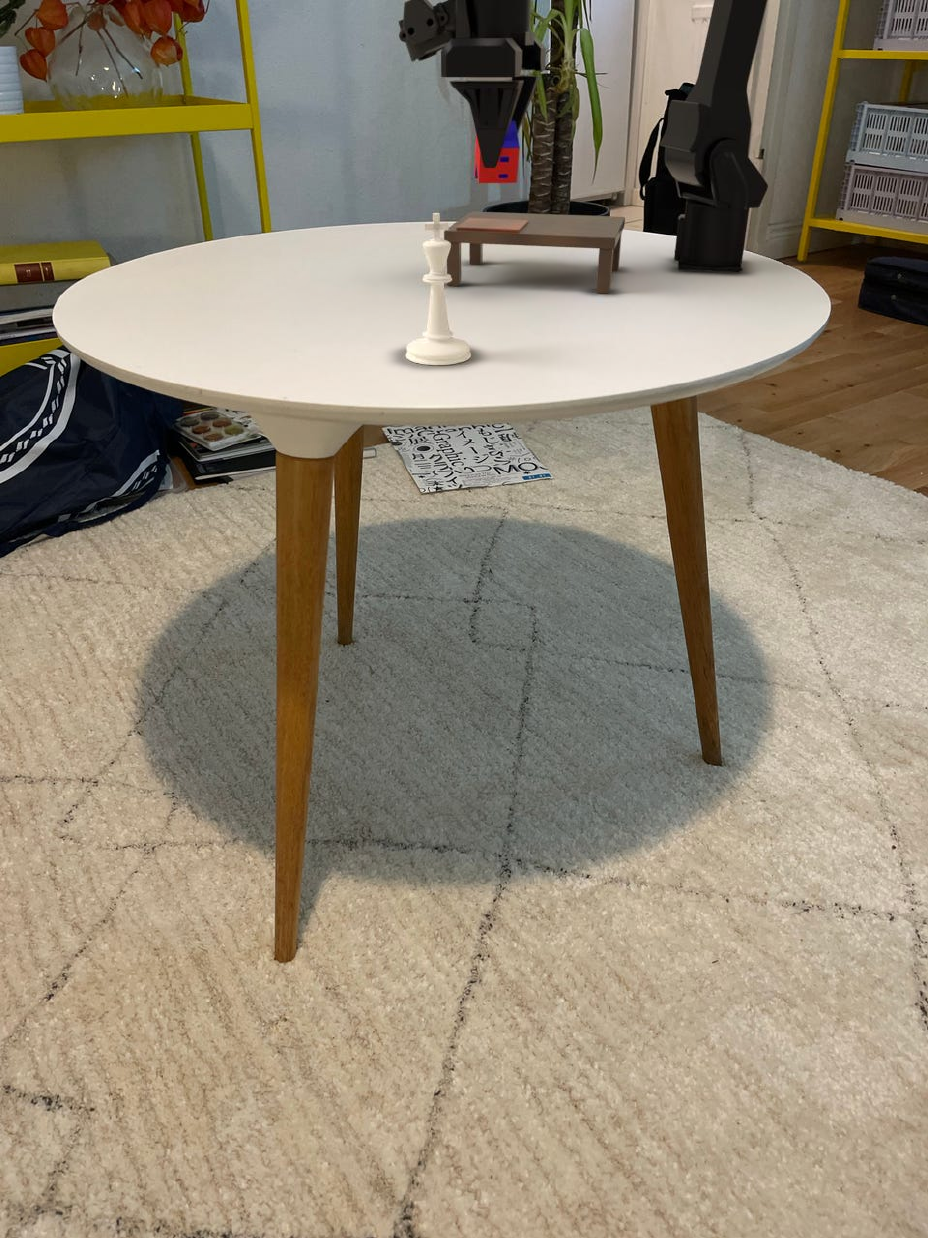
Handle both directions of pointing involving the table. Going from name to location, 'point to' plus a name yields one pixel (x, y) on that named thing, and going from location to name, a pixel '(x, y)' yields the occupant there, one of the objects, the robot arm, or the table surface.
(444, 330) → the chess piece
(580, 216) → the miniature wooden table
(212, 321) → the table surface
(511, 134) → the toy building block
